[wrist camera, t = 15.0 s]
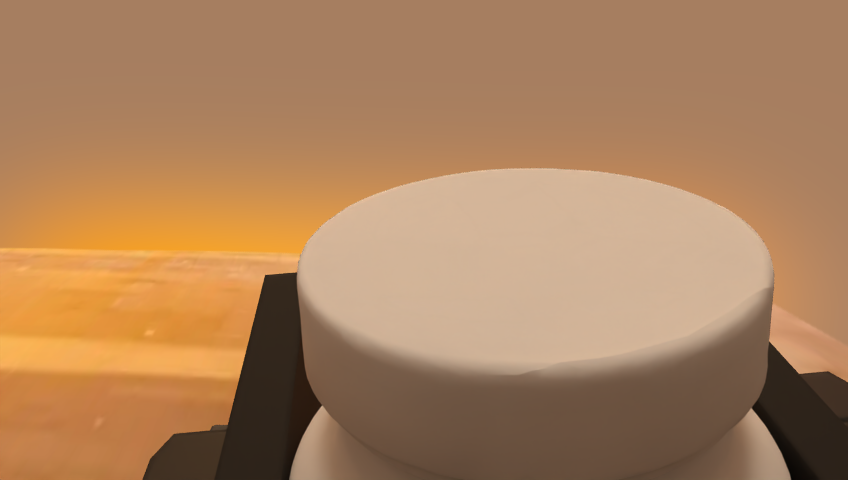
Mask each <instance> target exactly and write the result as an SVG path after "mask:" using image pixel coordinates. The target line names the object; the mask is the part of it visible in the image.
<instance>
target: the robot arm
mask: <svg viewBox="0 0 848 480" xmlns="http://www.w3.org/2000/svg"><path fill="white" fill-rule="evenodd" d="M321 406H322V404H321V403H320V402H319V400H318V399H317V397H316V395H315V394H314V392H313V390H312V388H311V386H310V383H309V381H308V379H307V375H306V370H305V363H304V354H303V344H302V330H301V317H300V308H299V299H298V291H297V273H285V274H273V275H265V278H264V282H263V286H262V290H261V294H260V298H259V302H258V306H257V310H256V314H255V318H254V322H253V326H252V330H251V334H250V338H249V342H248V346H247V350H246V354H245V358H244V362H243V366H242V370H241V374H240V378H239V382H238V386H237V390H236V394H235V398H234V402H233V406H232V410H231V414H230V418H229V422H228V426H227V429H222V430H211V431H200V432H189V433H179V434H173V436H172V437H171V438H170V439H169V440H168V441H167V442H166V443H165V444H164V445H163V446H162V447H161V448H160V449H159V450H158V451H157V453H156V454H155V455H154V456H153V457H152V458H151V459H150V461H149V464H148V467H147V469H146V472H145V475H144V477H143V480H289V477H290V472H291V467H292V464H293V460H294V457H295V454H296V451H297V449H298V447H299V444H300V442H301V439H302V437H303V435H304V433H305V431H306V429H307V428H308V426H309V424H310V422H311V421H312V419H313V417H314V416H315V414H316V413H317V412H318V410H319V409H320V408H321ZM752 409H753V411H754V412H755V413H756V414H757V416H758V417H759V418H760V420H761V421H762V422H763V423H764V425H765V426H766V428H767V429H768V431H769V432H770V434H771V436H772V437H773V439H774V441H775V442H776V444H777V446H778V448H779V450H780V451H781V453H782V456H783V458H784V461H785V463H786V466H787V468H788V471H789V473H790V477H791V480H848V382H846V381H845V380H843V379H841V378H839V377H837V376H835V375H834V374H832V373H830V372H828V371H827V372H816V373H805V374H798V372H797V371H796V370H795V369H794V368H793V367H792V366H791V365H790V364H789V363H788V362H787V360H786V359H785V358H784V357H783V356H782V355H781V354H780V353H779V352H778V351H777V349H776V348H775V347H774V346H773V345H772V344H771V343H770V342H769V346H768V368H767V374H766V381H765V384H764V386H763V389H762V391H761V394H760V396H759V398H758V399H757V401H756V402H755V404H754V405H753V406H752Z"/></svg>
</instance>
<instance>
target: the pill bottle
mask: <svg viewBox="0 0 848 480" xmlns="http://www.w3.org/2000/svg"><path fill="white" fill-rule="evenodd" d="M297 291H298V299H299V308H300V317H301V330H302V344H303V354H304V363H305V370H306V375H307V379H308V381H309V383H310V386H311V388H312V390H313V392H314V394H315V395H316V397H317V399H318V400H319V402H320V403H321V404H322V406H321V408H320V409H319V410H318V412H317V413H316V414H315V416H314V417H313V419H312V421H311V422H310V424H309V426H308V428H307V429H306V431H305V433H304V435H303V437H302V439H301V442H300V444H299V447H298V449H297V451H296V454H295V457H294V460H293V464H292V467H291V472H290V477H289V480H791V477H790V473H789V471H788V468H787V466H786V463H785V461H784V458H783V456H782V453H781V451H780V450H779V448H778V446H777V444H776V442H775V441H774V439H773V437H772V436H771V434H770V432H769V431H768V429H767V428H766V426H765V425H764V423H763V422H762V421H761V420H760V418H759V417H758V416H757V414H756V413H755V412H754V411H753V409H752V406H753V405H754V404H755V402H756V401H757V399H758V398H759V396H760V394H761V391H762V389H763V386H764V384H765V381H766V374H767V368H768V346H769V335H770V324H771V312H772V301H773V291H774V270H773V265H772V259H771V257H770V254H769V251H768V249H767V247H766V246H765V244H764V241H763V240H762V239H761V238H760V237H759V235H758V234H757V232H756V231H755V230H754V229H753V228H752V227H750V226H749V224H748V223H746V222H745V221H744V220H743V219H741V218H740V217H738V216H737V215H735V214H734V213H732V212H731V211H729V210H728V209H726V208H724V207H722V206H720V205H718V204H716V203H714V202H712V201H710V200H708V199H705V198H703V197H700V196H698V195H695V194H693V193H690V192H687V191H684V190H681V189H679V188H675V187H672V186H669V185H665V184H661V183H658V182H654V181H649V180H645V179H640V178H635V177H630V176H624V175H618V174H612V173H605V172H597V171H584V170H568V169H552V168H543V169H542V168H537V169H536V168H532V169H531V168H529V169H497V170H496V169H494V170H483V171H474V172H465V173H458V174H452V175H447V176H441V177H436V178H431V179H426V180H422V181H418V182H413V183H409V184H405V185H402V186H398V187H395V188H392V189H389V190H386V191H384V192H381V193H378V194H375V195H372V196H370V197H367V198H365V199H363V200H361V201H358V202H356V203H354V204H352V205H351V206H349V207H347V208H345V209H344V210H342V211H341V212H339V213H338V214H336V215H335V216H333V217H332V218H331V219H329V220H328V221H326V222H325V223H324V224H323V225H322V226H321V227H320V228H319V229H318V230H317V231H316V232H315V233H314V234H313V235H312V236H311V238H310V239H309V240H308V242H307V243H306V245H305V247H304V249H303V251H302V254H301V255H300V260H299V261H298V270H297Z"/></svg>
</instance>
